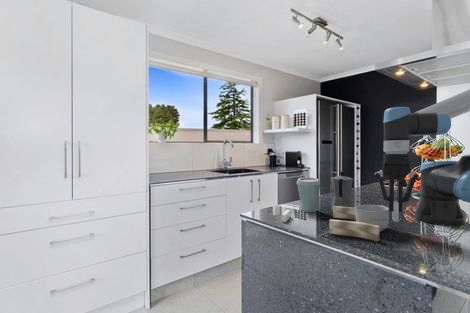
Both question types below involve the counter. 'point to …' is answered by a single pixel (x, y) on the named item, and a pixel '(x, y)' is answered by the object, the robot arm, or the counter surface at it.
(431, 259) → the counter surface
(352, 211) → the channel
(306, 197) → the disposable coffee cup
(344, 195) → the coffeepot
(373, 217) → the teacup
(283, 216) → the bumper
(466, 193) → the robot arm
